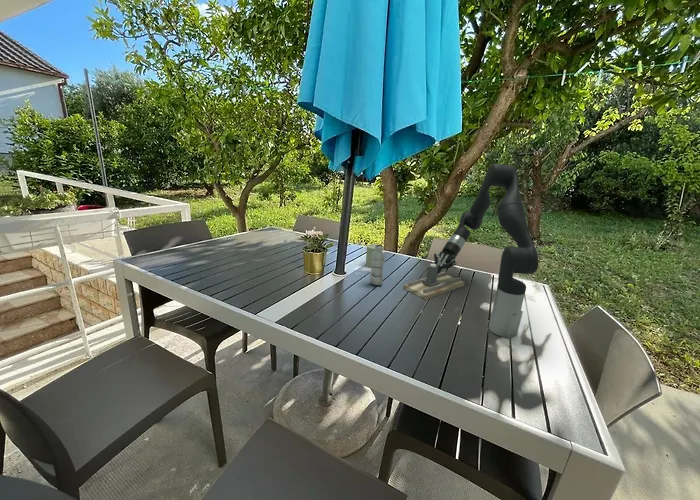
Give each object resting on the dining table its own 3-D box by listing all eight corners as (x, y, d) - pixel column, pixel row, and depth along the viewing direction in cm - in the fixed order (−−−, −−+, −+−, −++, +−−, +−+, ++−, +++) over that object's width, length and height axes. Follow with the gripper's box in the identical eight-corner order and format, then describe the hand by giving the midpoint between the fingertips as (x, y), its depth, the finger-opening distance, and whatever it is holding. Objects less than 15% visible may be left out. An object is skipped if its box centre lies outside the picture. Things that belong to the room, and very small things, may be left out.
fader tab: (438, 285, 152) (441, 265, 149) (432, 287, 149) (435, 267, 146) (428, 281, 156) (431, 261, 153) (422, 283, 153) (425, 263, 150)
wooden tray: (464, 285, 159) (465, 279, 158) (426, 299, 141) (427, 292, 140) (441, 276, 170) (442, 270, 168) (403, 288, 152) (404, 281, 151)
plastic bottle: (382, 287, 152) (385, 248, 145) (368, 285, 153) (371, 247, 147) (383, 282, 158) (386, 244, 151) (370, 280, 159) (373, 243, 153)
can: (373, 261, 187) (374, 242, 183) (384, 266, 180) (386, 246, 177) (362, 264, 181) (363, 244, 178) (373, 269, 175) (374, 248, 171)
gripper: (440, 238, 159) (422, 264, 155) (463, 244, 149) (444, 273, 145) (445, 246, 163) (427, 272, 160) (468, 253, 153) (449, 281, 150)
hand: (435, 273), depth 152 cm, fingers closed
